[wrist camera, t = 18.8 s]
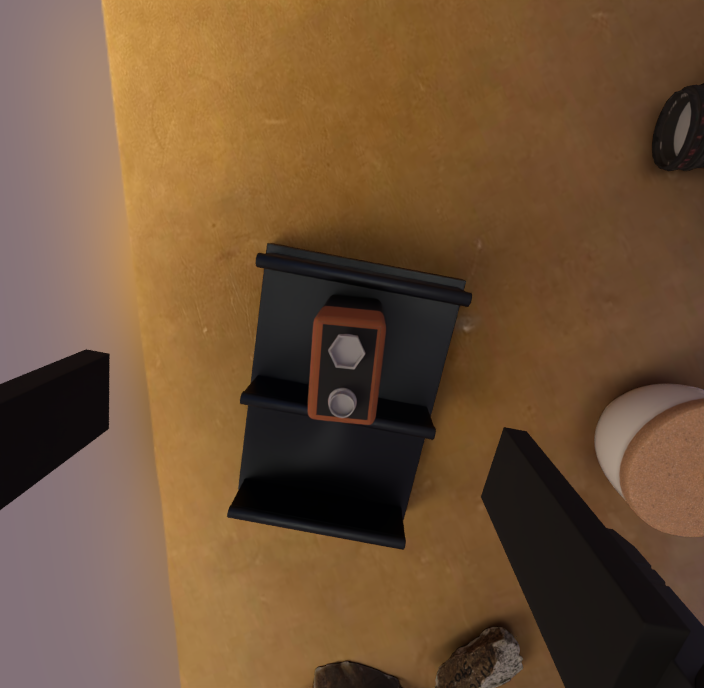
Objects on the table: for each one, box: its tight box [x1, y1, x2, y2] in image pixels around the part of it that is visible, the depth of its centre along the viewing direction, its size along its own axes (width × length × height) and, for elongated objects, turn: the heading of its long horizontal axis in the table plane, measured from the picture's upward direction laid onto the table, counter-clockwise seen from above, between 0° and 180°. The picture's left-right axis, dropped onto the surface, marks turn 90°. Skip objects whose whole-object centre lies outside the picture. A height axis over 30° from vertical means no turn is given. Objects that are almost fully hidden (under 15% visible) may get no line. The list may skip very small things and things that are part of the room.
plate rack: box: [227, 243, 472, 550], centre depth 32 cm, size 16×23×6 cm
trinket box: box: [594, 384, 704, 537], centre depth 29 cm, size 11×11×9 cm
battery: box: [308, 295, 386, 425], centre depth 27 cm, size 4×7×10 cm, turn 175°
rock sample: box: [435, 627, 523, 688], centre depth 40 cm, size 10×8×9 cm
